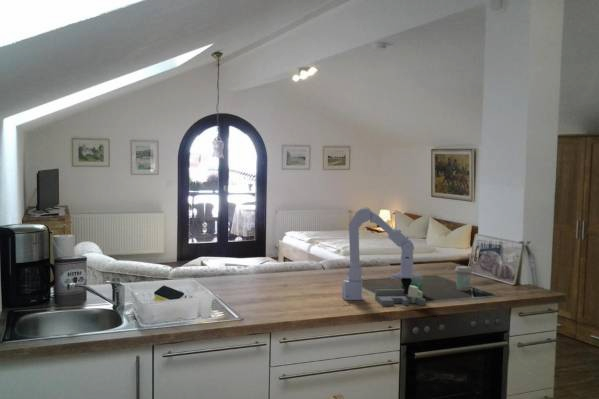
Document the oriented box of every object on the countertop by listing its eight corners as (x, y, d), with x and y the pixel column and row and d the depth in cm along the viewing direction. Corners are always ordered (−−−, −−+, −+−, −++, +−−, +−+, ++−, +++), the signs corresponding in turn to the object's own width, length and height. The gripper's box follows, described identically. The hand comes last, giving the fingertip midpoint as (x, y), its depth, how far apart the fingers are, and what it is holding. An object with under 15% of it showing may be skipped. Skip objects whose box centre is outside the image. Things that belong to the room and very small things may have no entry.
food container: (403, 297, 275) (404, 277, 274) (399, 294, 281) (399, 274, 280) (427, 296, 277) (428, 276, 276) (422, 293, 283) (423, 274, 282)
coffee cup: (461, 292, 289) (462, 268, 288) (450, 288, 297) (451, 266, 296) (474, 290, 292) (475, 268, 291) (464, 287, 300) (465, 265, 299)
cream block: (408, 296, 264) (409, 287, 264) (404, 294, 269) (406, 285, 269) (417, 297, 265) (418, 287, 265) (413, 295, 269) (415, 285, 269)
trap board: (382, 305, 257) (382, 295, 257) (375, 299, 268) (375, 289, 268) (425, 304, 260) (426, 294, 260) (417, 299, 271) (417, 289, 271)
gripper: (394, 267, 261) (393, 296, 261) (424, 267, 263) (423, 295, 263) (390, 264, 267) (389, 292, 268) (419, 264, 270) (418, 292, 270)
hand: (405, 294), depth 266 cm, fingers closed, pressing on cream block
